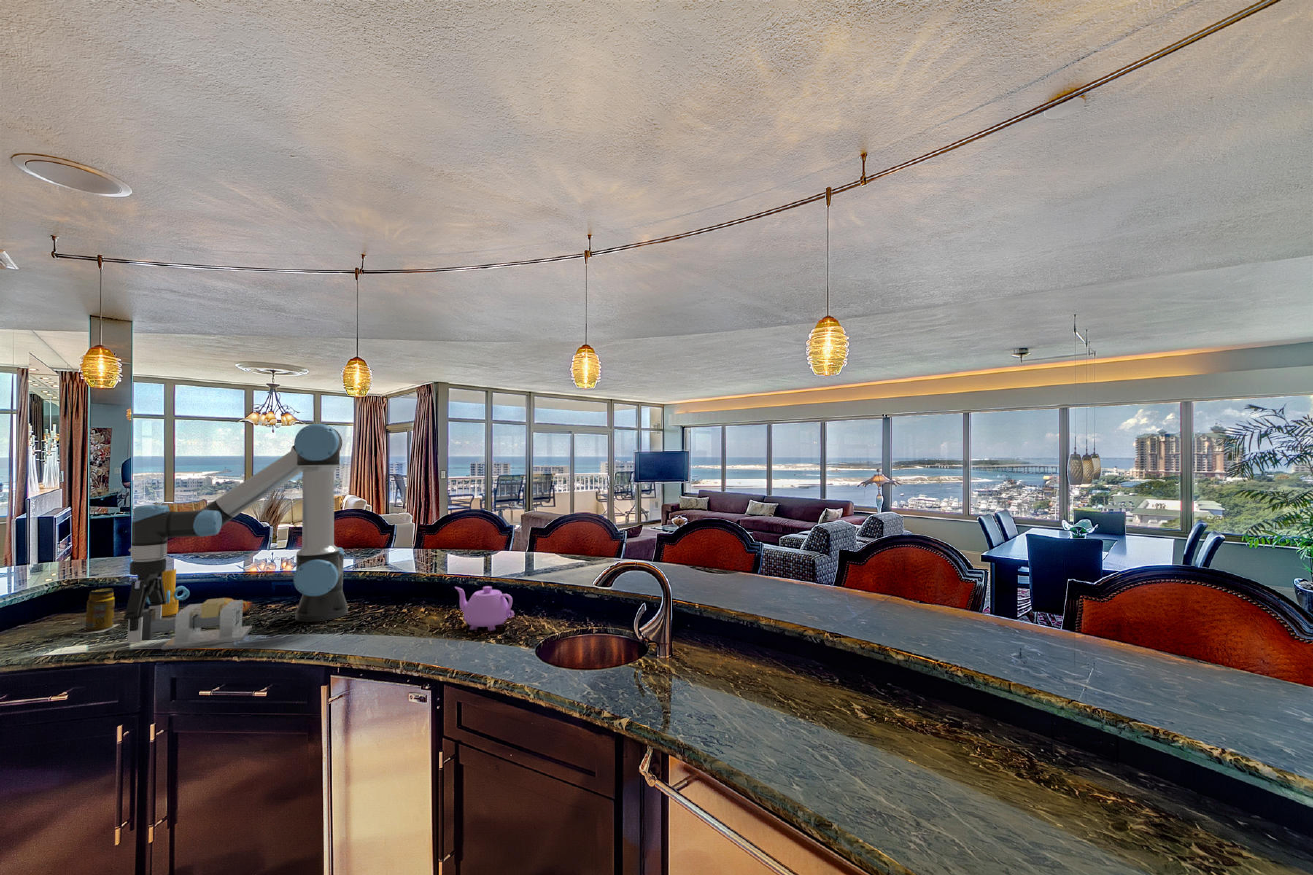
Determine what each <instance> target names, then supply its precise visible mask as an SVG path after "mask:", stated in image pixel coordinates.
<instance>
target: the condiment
mask: <svg viewBox="0 0 1313 875" xmlns="http://www.w3.org/2000/svg"><path fill="white" fill-rule="evenodd" d="M88 594H89V596H88V600H87V601H86V602H87V603H86V611H85V612H86V614H85V616H86V617H85V628H84V629H81V630H78V631H77V632H76V631H75V632H74V633H72V635H81V634H82V635H83V634H84V635H85V634H96V633H104V632H107V631H108V630H111V629H113V628H116V627H118V626H119V625H121V624H120V623H115V624H114V620H115V619H114V618H115V602H116V601H115V599H116V598H115V596H114V589H113V588H99V589H94V590H91V591H90V592H89V593H88Z"/></svg>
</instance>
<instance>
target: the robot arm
mask: <svg viewBox="0 0 1313 875" xmlns="http://www.w3.org/2000/svg"><path fill="white" fill-rule="evenodd" d="M342 448H343V438H342V436H341V434H340V433H339V432H338V430H336V429H335V428H333V427H332V426H330V425H329V424H324V423H312V424H309V425H305V426H304V427H302V428H301V429H299V431H298V432H297V434H295V437H294V443H293V445H292V446H291V448H290V451H288V452H287V453H286V454H284V455H282V456H281V457H280V458H278V459H276V460H275V461H274V462H271V464H269V465H267V466H266V467H264V468H262V469H261V470H259V471H258V472H256V473H255V474H253V475H252V476H251V477H249V478H247V479H246V480H245V481H243V482H241V483H240V484H238V485H237V486H235V487H233V488H232V489H231V490H228V491H227V492H226V493H224V494H223V495H221V496H220V497H218V498H217V499H215V500H214V501H212V502H210V503H209V504H207V505H205V506H204V507H202V508H200V509H197V510H187V511H186V510H183V511H173V510H172V511H171V510H170V507H169V505H168V504H144V505H138V506H136V507H134V509H133V514H132V521H131V543H130V548H129V549H128V552H130V559H131V562H129V574H130V575H131V576H137V580H132V581H131V587H130V593H129V597H128V600H127V605H126V610H125V613H124V616H123V620H128V624H127V638H126V639H127V644H132V643H141V642H143V641H142V624H143V617H141V615H142V612H143V610H144V609H145V605H146V603H147V601H146V600H147V597H148V598H149V601H150V604H149V607H148V609H156V613H155V619H161V618H162V616H161V615H162V605H161V604H166V600H165V593H164V586H163V580H162V574H163V573H162V572H164V571H165V570H167V558H166V557H167V556H168V538H186V537H187V538H189V537H190V538H191V537H201V538H202V537H203V538H204V537H209V536H211V537H212V536H216V535H218V534H219V533H220V531H221V529H222V528H223V526H225V524H226V523H228V522H229V521H231V520H232V519H233V518H235V517H237V516H238V515H239V514H241V513H242V512H245V511H246V510H247V509H248V508H251V507H252V506H253V505H255V504H256V503H257V502H259V501H260V500H262V499H264V498H265V497H267V496H268V495H270V494H271V493H272V492H275V490H277V489H278V488H280V487H282V486H283V485H284V484H286V483H288V482H289V481H290V480H292V479H293V478H296V477H297V476H298V475H299V474H301V473H302V500H301V501H302V507H301V509H302V518H301V523H302V525H301V526H302V529H301V532H302V534H301V538H302V539H301V540H302V542H301V544H302V545H301V546H302V547H301V548H300V549H299V550H298V551H297V552H296V555H295V557H296V562H295V564H296V566H295V572H294V573H293V578H292V579H293V585H294V587H295V589H296V590H297V591H298V592H299V593H300V594H302V596H301V598H300V600H299V603H298V605H297V608H296V610H295V621H297V622H302V623H315V622H324V621H330V620H331V621H332V620H334V619H339V618H342V617H344V616H346V615H347V614H348V613H349V606H348V605H349V604H348V602H347V600H346V597H345V594H344V591H343V589H344V588H343V587H344V586H343V584H344V558H345V553H344V551H345V550H344V547H343V548H342V547H338V546H336V545H335V471H336V470H337V468H339V467H340V465H341V464H340V461H341V460H340V458H341V457H340V456H341V454H340V451H341V450H342Z"/></svg>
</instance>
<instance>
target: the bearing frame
mask: <svg viewBox="0 0 1313 875" xmlns="http://www.w3.org/2000/svg"><path fill="white" fill-rule="evenodd" d="M235 600H236V601H230V602H229V603H228V604H227V605H226V606H224V607H223V608H222V609H221V610H220V625H219V628H218V629H209V630H202V627H199V628H193V617H194V616H195V615H201V605H202V604H203V603H195V604H194V603H193V604H188V605H186V607H184V608H183V609H181V610H179V611H178V613H176V614H175V617H176V620H175V630H174V636H173V637H171V639H169V640H168V641H167V642H165V643H164V644H163V645H162V646H161V651H163V650H174V649H181V648H189V647H197V646H198V647H200V646H209V645H215V644H224V643H231V642H242V641H243V640H244V639H245V638H246V637H247V636H248V634H249V633H250V632H251V631H252V629H253V626H252V625H246V626H243V613H242V610H243V601H244V600H243V599H238V600H237V599H235ZM237 611H239V621H238V622H237V623H236V612H237Z"/></svg>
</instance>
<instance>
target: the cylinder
mask: <svg viewBox="0 0 1313 875" xmlns="http://www.w3.org/2000/svg"><path fill="white" fill-rule="evenodd" d="M162 573H163V574H162V580H163V586H164V593H165V600H166V604H161V605H162V615H161V617H168V616H173V615H176V614H177V613H178V612H179V601H185V600H186V599H188V598H189V596H190V590H189V589H188V588H186V587H185V586H183V585H180V586H177V587H176V581H177V569H176V568H170V569H169V568H166V570H165V571H164V572H162ZM180 591H183V592H182V594H181V595H179V596H178V593H179V592H180ZM146 603H147V604H148V605H151V604H150V601H149V598H148V597H147V600H146Z"/></svg>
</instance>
